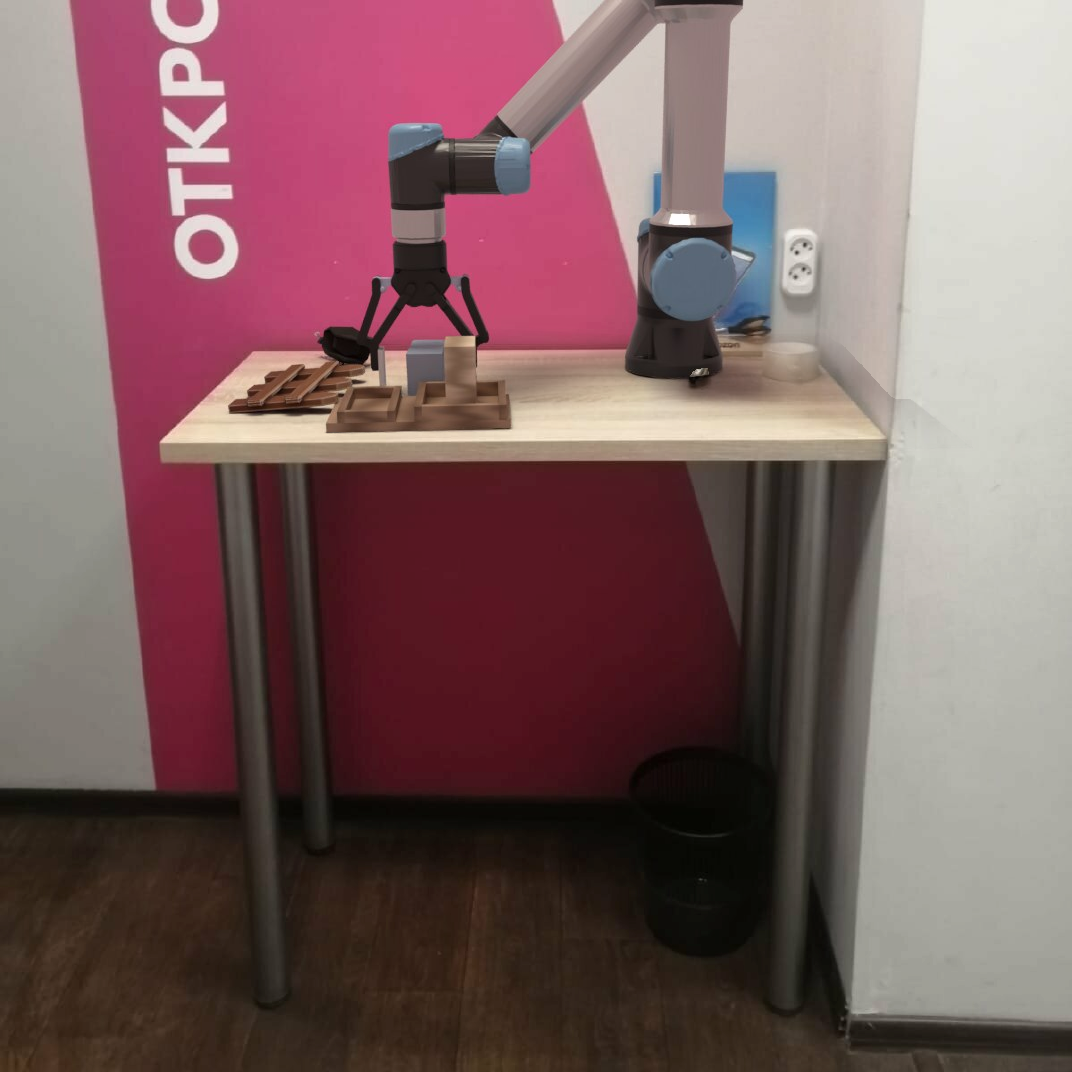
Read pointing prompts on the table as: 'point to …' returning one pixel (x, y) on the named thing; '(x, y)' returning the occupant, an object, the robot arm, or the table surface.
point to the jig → (419, 409)
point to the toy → (343, 345)
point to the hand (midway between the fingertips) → (425, 391)
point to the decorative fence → (298, 388)
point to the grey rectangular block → (424, 363)
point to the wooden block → (460, 370)
